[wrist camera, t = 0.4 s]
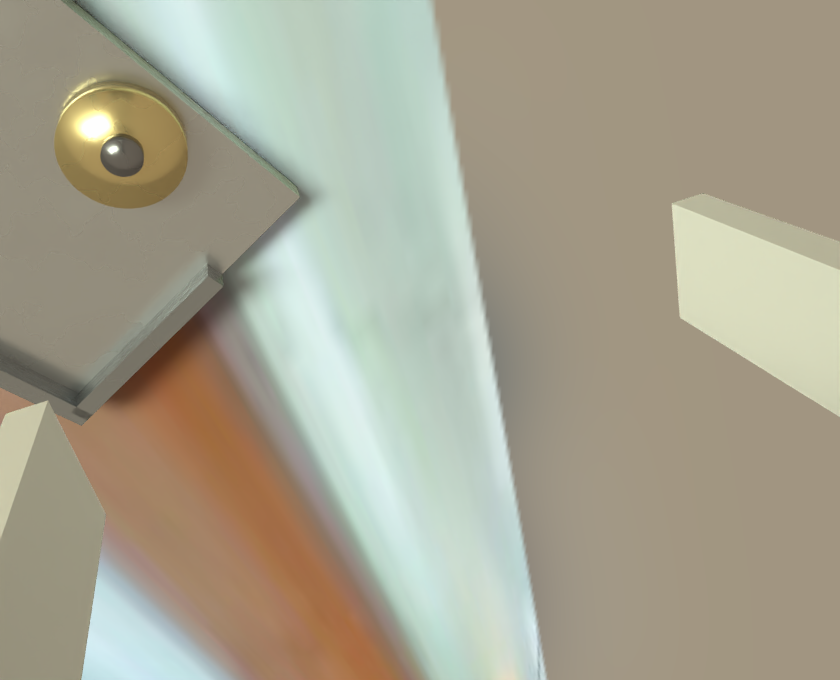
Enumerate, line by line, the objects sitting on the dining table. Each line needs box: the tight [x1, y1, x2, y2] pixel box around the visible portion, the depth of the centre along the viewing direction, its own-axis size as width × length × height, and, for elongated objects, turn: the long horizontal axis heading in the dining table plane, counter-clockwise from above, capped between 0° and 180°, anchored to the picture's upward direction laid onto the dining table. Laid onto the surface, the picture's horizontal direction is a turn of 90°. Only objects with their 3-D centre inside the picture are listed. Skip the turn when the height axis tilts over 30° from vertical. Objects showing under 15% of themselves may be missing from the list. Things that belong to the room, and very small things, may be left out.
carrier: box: [0, 0, 300, 426], centre depth 37 cm, size 18×16×3 cm
